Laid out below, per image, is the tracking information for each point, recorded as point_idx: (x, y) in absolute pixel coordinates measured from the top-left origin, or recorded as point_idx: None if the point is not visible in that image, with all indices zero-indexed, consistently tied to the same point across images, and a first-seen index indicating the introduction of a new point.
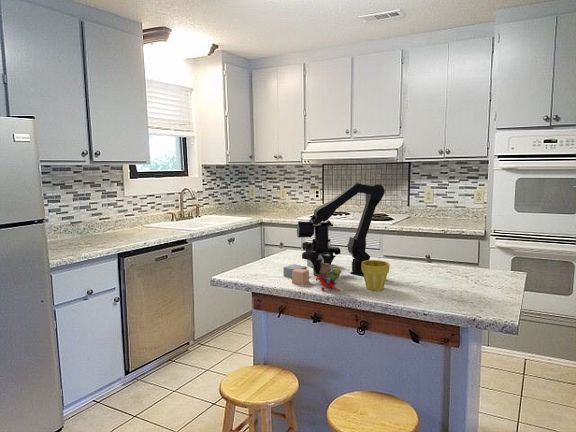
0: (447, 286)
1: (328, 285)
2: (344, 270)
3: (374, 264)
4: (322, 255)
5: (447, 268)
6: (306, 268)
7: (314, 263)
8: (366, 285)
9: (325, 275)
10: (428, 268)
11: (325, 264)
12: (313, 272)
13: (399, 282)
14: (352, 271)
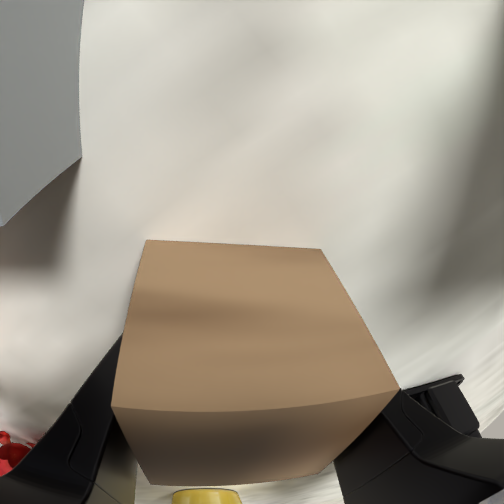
0: (329, 499)
1: None
2: (471, 322)
3: None
4: (475, 496)
5: (480, 427)
6: (21, 205)
7: (66, 470)
8: (174, 502)
9: None
10: (483, 418)
11: (251, 479)
12: (140, 269)
13: (317, 485)
14: (422, 391)
